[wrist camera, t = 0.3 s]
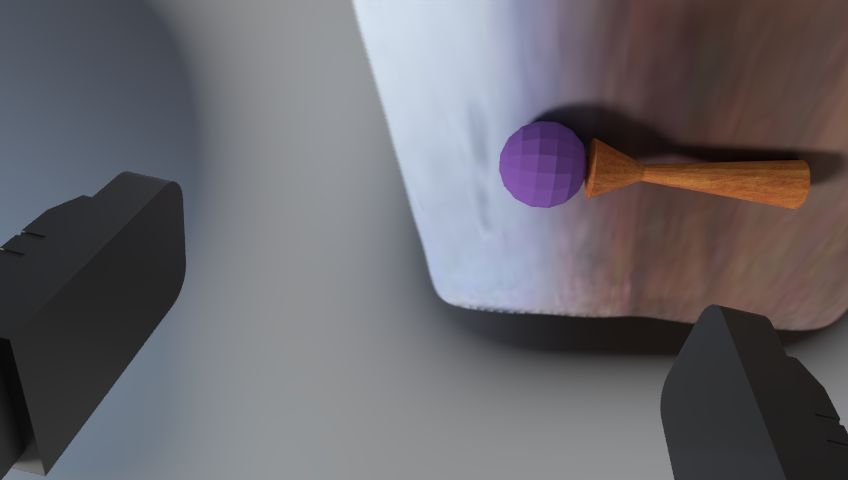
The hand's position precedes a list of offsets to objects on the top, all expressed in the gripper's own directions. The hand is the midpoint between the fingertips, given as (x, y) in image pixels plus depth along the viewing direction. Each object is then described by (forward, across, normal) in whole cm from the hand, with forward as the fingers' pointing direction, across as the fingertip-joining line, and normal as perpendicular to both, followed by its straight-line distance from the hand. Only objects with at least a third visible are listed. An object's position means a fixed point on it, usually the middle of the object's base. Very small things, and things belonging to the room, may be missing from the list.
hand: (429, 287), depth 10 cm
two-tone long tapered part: (+36, -13, +11) cm, 40 cm away
